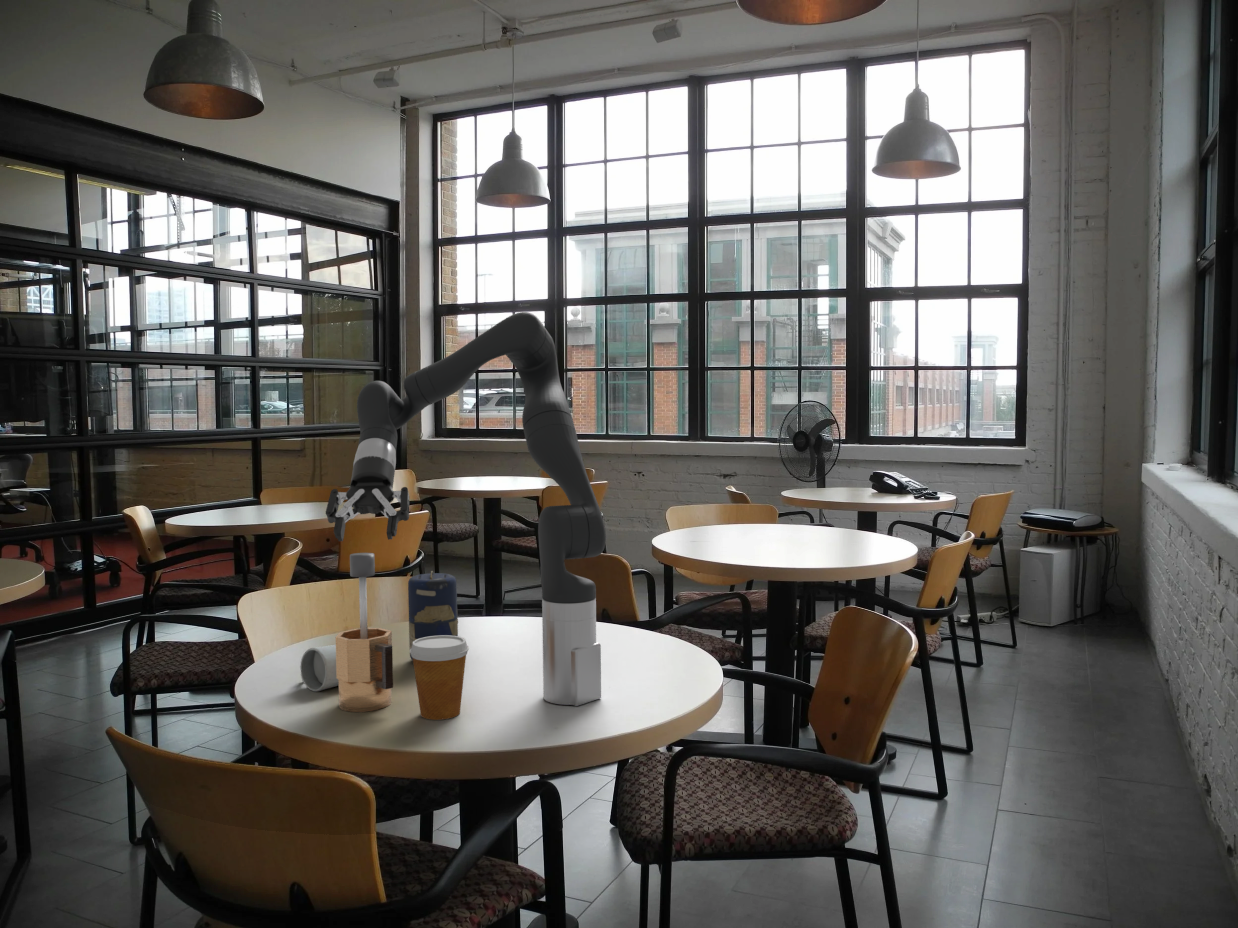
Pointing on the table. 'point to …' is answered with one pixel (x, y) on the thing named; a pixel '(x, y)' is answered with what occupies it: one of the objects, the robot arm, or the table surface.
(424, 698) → the disposable coffee cup
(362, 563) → the plunger
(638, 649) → the table surface
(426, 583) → the canister
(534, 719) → the table surface
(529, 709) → the table surface
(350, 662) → the wooden pitcher
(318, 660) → the ceramic mug
